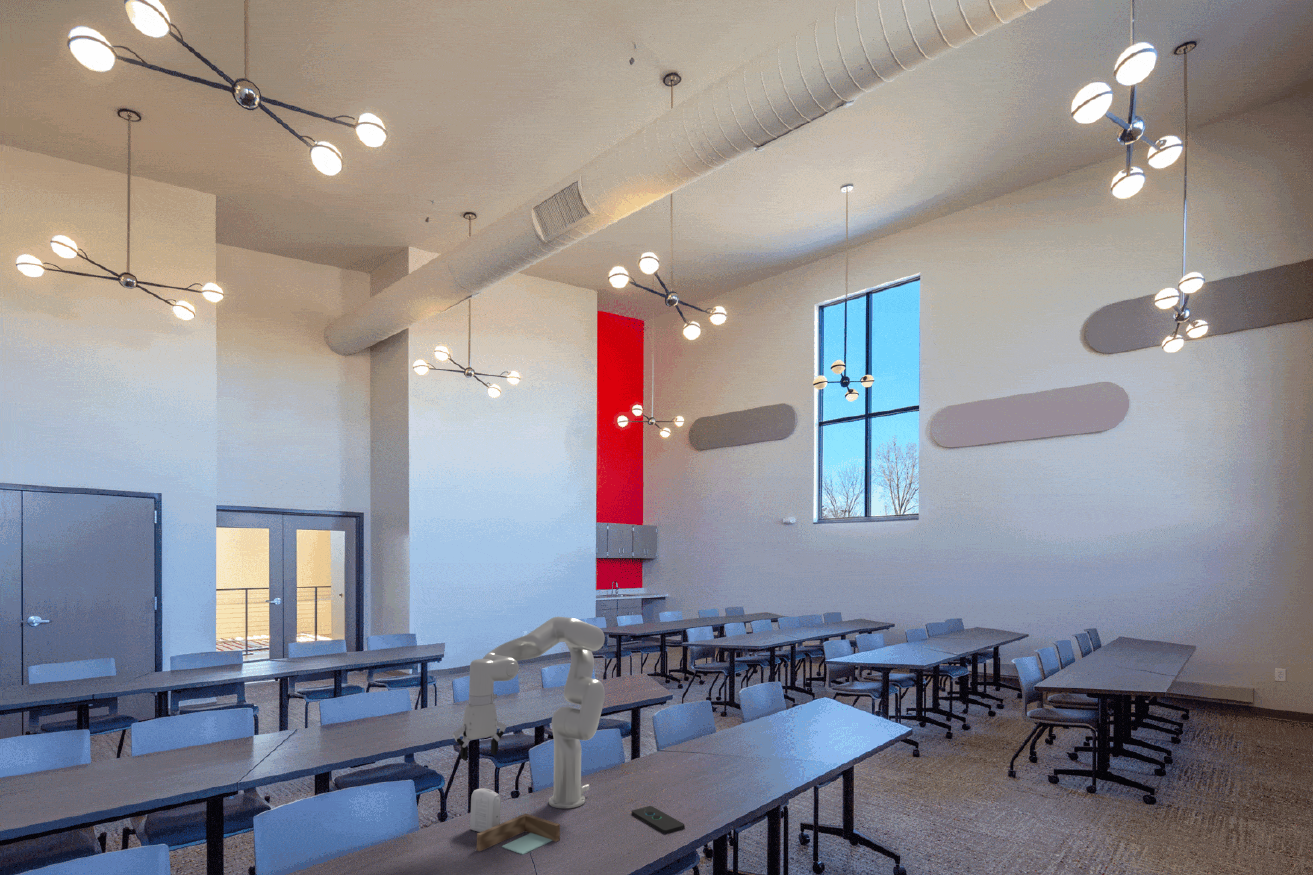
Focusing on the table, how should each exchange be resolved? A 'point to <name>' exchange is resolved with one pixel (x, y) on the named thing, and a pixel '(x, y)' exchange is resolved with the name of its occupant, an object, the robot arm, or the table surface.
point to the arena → (518, 830)
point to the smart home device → (658, 819)
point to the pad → (526, 843)
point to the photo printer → (484, 809)
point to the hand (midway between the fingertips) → (479, 756)
